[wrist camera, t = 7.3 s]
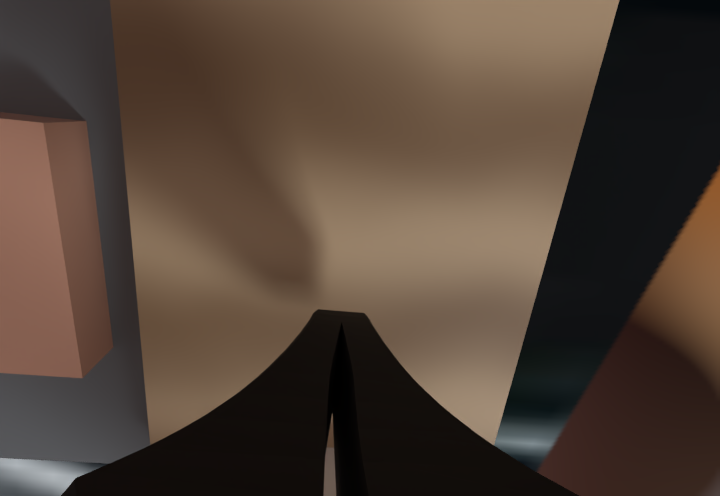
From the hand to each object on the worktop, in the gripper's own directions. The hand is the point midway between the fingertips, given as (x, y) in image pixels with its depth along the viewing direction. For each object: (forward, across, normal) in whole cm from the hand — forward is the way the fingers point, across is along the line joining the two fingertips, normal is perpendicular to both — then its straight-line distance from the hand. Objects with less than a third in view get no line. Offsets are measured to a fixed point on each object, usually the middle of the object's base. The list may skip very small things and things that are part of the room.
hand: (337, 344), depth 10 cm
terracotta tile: (+3, +12, 0) cm, 13 cm away
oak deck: (+6, 0, +1) cm, 6 cm away
